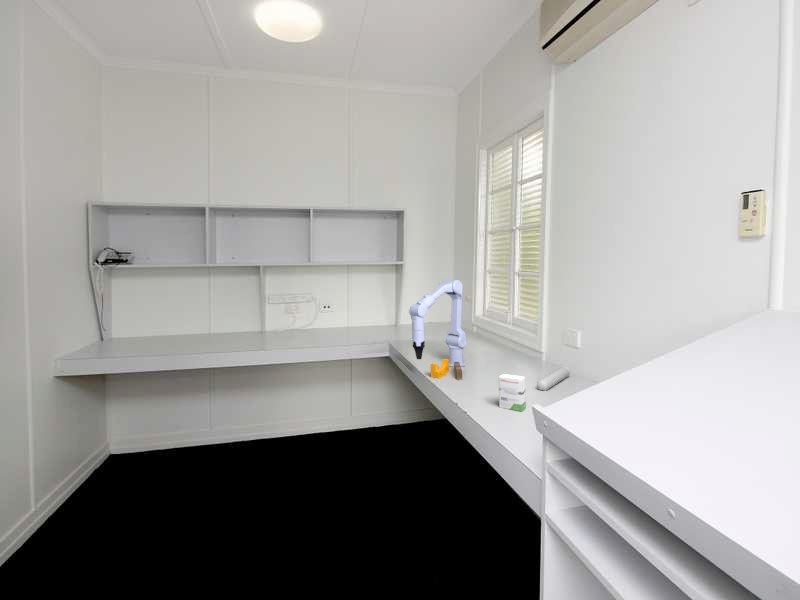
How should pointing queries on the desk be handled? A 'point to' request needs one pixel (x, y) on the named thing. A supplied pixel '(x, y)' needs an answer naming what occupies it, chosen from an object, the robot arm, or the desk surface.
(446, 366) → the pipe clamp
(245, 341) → the desk surface
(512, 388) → the ink box
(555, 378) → the tube
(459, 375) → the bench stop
